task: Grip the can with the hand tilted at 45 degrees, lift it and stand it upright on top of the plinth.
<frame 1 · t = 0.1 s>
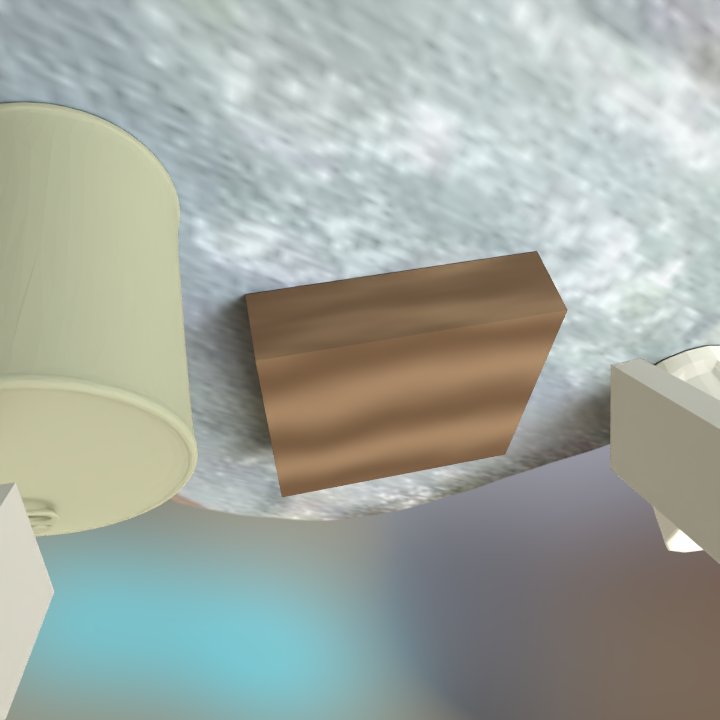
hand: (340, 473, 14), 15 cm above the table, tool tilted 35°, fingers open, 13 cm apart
can: (57, 204, 25), on the table
cup: (676, 376, 49), on the table
plinth: (387, 359, 39), on the table
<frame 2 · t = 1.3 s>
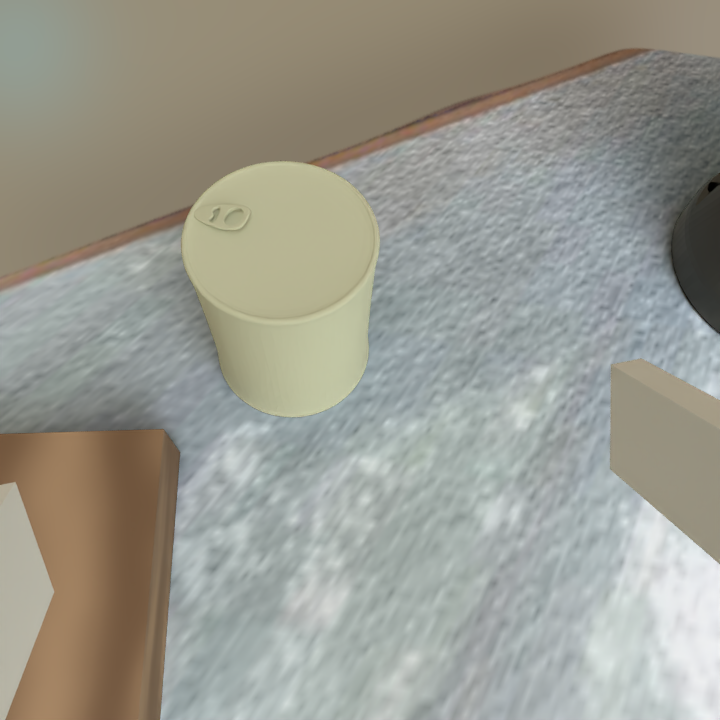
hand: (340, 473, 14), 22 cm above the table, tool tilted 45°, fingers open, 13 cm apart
can: (294, 349, 40), on the table
plinth: (21, 597, 34), on the table
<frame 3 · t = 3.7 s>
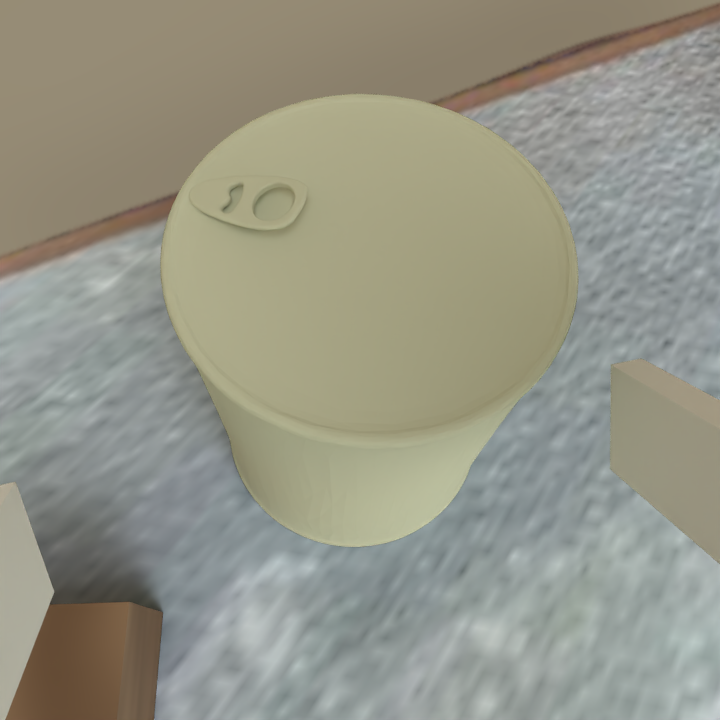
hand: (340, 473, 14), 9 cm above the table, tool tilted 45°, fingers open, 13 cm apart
can: (353, 424, 25), on the table
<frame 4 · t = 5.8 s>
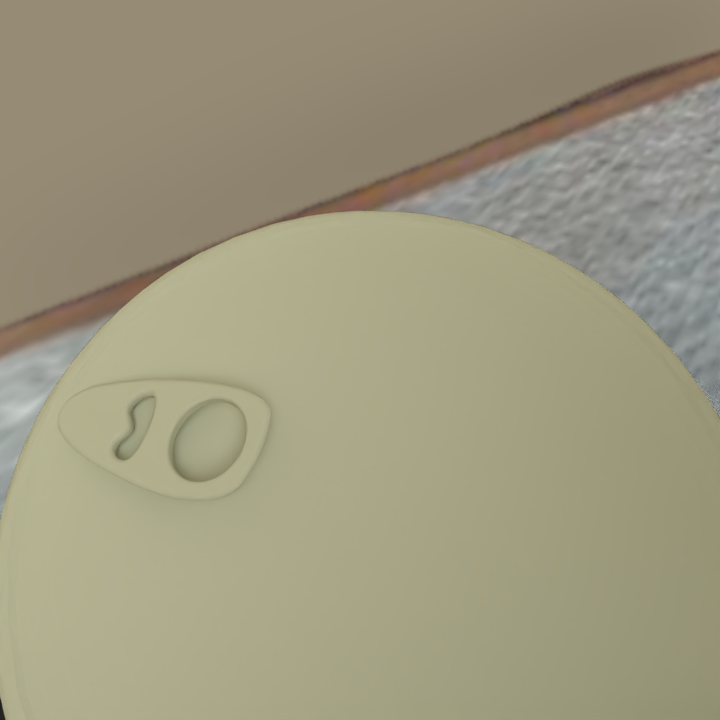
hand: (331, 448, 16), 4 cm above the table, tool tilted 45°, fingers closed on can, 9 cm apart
can: (354, 607, 18), on the table, touching gripper
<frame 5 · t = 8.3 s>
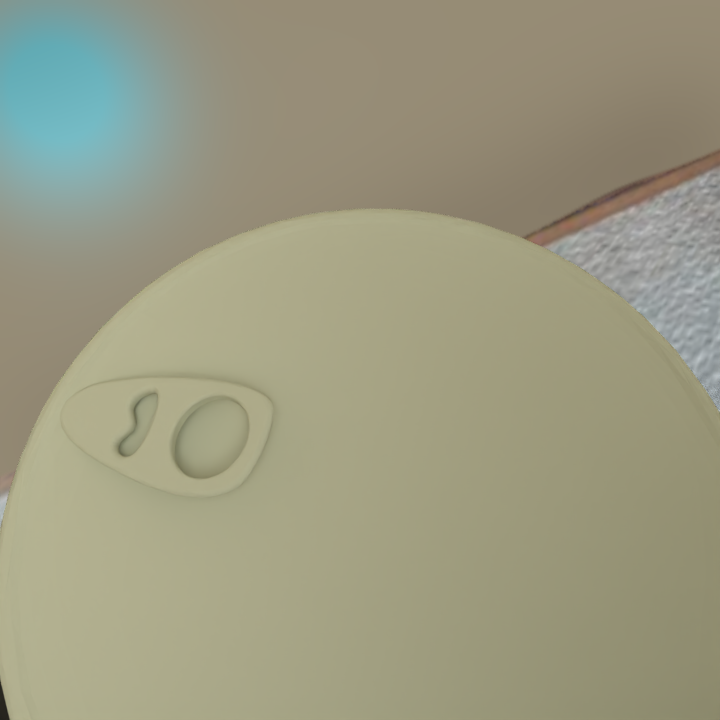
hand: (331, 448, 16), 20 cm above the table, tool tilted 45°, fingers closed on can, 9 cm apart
can: (355, 605, 18), point 15 cm above the table, touching gripper
when the fingers open (10 cm above the table, at t = 10.9 s): can drops 1 cm, resting on plinth.
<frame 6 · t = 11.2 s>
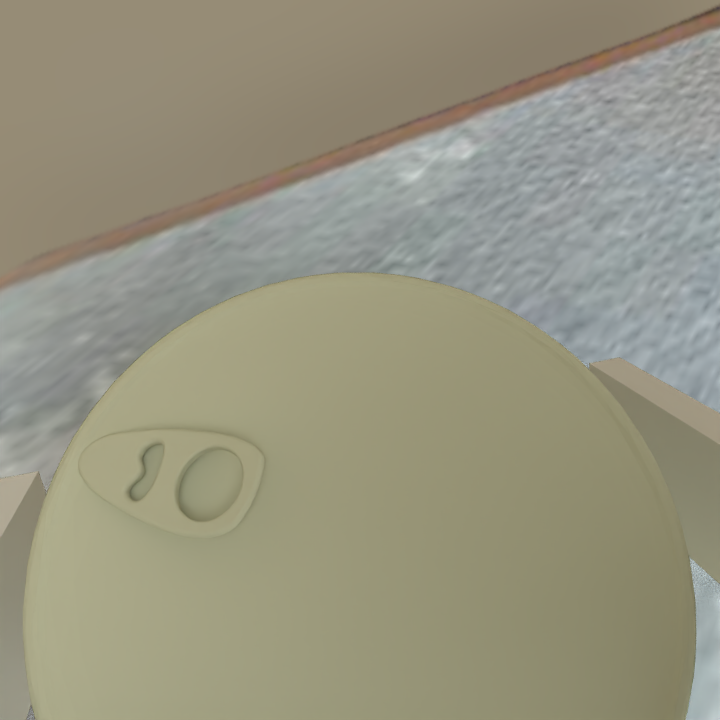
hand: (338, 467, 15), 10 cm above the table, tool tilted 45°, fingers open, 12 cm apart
can: (343, 617, 19), point 4 cm above the table, touching plinth
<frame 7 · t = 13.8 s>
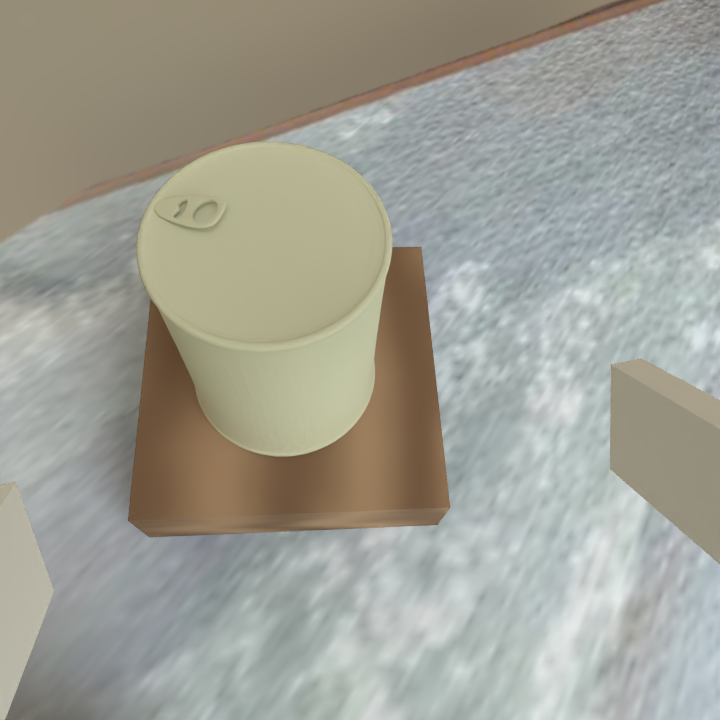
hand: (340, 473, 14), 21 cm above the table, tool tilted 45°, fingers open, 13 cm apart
can: (286, 373, 34), point 4 cm above the table, touching plinth
plinth: (294, 398, 37), on the table
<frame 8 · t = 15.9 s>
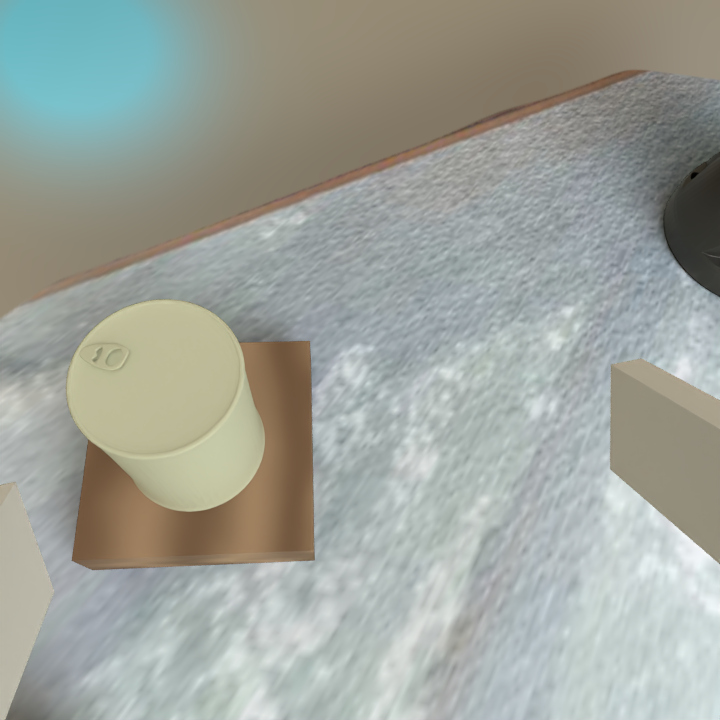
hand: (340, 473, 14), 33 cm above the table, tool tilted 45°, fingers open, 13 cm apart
can: (197, 444, 44), point 4 cm above the table, touching plinth
plinth: (210, 459, 48), on the table
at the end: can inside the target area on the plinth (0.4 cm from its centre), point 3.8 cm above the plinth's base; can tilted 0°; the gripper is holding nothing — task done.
